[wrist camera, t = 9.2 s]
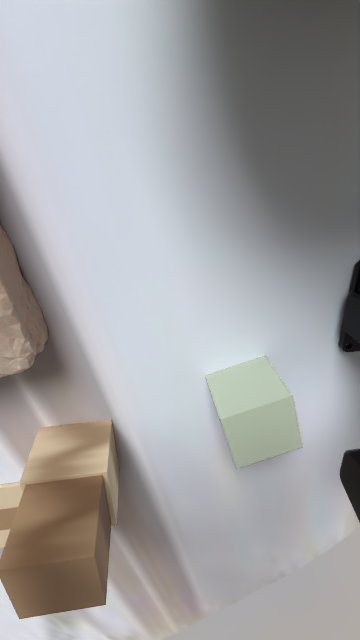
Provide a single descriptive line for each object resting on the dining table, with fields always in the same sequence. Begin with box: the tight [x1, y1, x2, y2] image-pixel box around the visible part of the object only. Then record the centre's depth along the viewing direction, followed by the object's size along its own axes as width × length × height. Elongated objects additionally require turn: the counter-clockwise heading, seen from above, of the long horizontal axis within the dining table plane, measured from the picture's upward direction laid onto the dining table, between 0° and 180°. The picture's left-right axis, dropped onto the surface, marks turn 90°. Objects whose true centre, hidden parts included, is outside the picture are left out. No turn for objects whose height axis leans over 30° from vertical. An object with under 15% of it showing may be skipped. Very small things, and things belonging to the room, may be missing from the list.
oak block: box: [20, 420, 119, 526], centre depth 22 cm, size 5×5×4 cm
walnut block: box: [0, 475, 111, 619], centre depth 18 cm, size 4×4×4 cm
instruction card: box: [0, 482, 23, 548], centre depth 26 cm, size 9×7×1 cm
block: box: [205, 356, 302, 469], centre depth 22 cm, size 4×4×4 cm
